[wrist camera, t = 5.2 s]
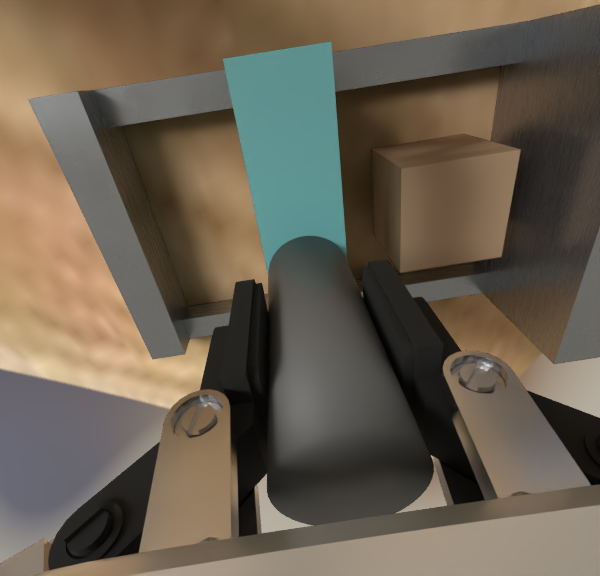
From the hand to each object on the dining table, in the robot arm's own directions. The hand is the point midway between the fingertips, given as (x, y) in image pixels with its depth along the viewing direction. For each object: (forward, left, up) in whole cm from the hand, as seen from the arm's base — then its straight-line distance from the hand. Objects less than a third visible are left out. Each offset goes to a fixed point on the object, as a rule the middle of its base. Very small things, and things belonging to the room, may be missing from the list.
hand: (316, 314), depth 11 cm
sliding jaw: (0, 0, -9) cm, 9 cm away
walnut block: (-7, 0, -11) cm, 13 cm away
